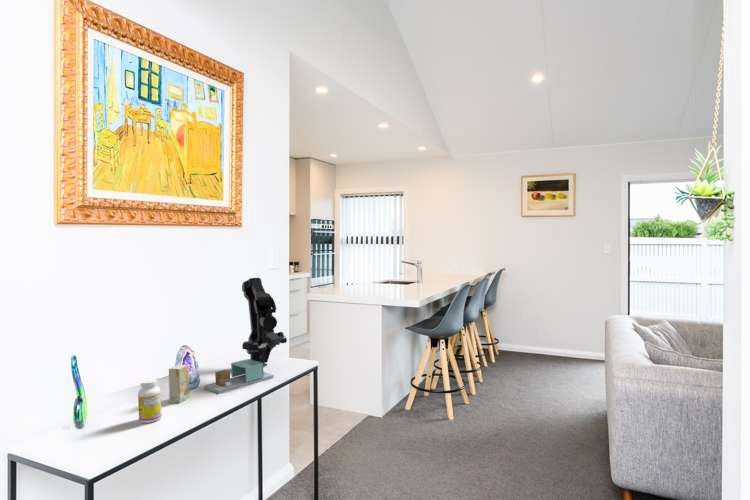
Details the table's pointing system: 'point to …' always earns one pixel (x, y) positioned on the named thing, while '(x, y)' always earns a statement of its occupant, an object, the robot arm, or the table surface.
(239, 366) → the block
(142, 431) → the table surface
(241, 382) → the grey flat rectangular block
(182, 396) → the skincare box
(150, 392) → the supplement bottle
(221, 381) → the block
